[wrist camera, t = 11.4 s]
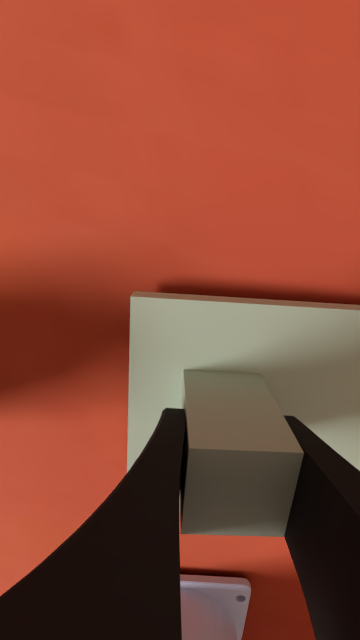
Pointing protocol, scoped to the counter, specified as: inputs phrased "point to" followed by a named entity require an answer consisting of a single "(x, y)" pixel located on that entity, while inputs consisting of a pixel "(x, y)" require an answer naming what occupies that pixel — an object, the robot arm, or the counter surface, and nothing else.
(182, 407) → the lid
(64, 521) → the counter surface
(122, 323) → the counter surface
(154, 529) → the robot arm
